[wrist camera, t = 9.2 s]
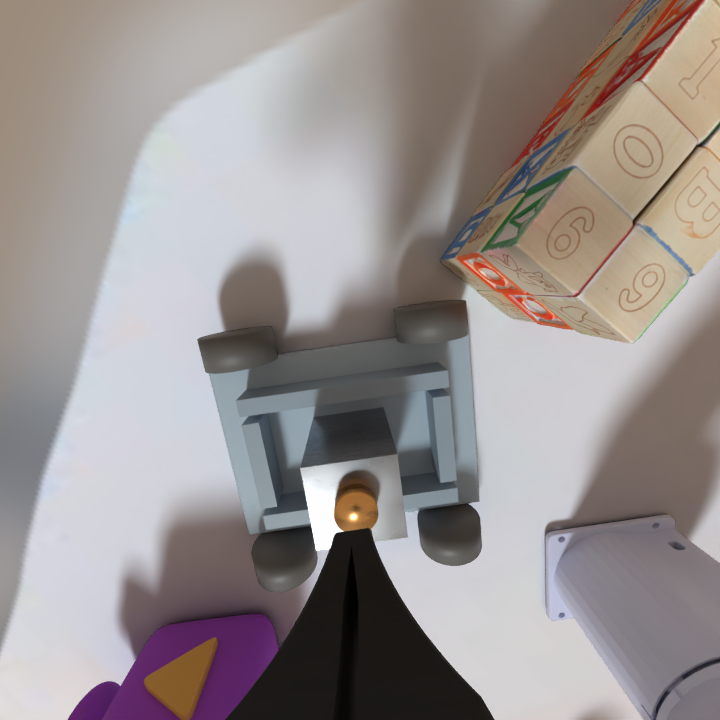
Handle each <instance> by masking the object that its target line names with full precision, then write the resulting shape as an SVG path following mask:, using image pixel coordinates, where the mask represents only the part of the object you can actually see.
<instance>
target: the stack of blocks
mask: <svg viewBox="0 0 720 720" xmlns="http://www.w3.org/2000/svg"><path fill="white" fill-rule="evenodd" d="M719 249H720V0H634V1H633V2H632V3H631V5H630V6H629V7H628V9H627V10H626V11H625V12H624V14H623V15H622V16H621V18H620V19H619V20H618V22H617V23H616V25H615V26H614V27H613V28H612V30H611V31H610V32H609V33H608V35H607V36H606V37H605V38H604V40H603V41H602V42H601V44H600V45H599V46H598V48H597V49H596V50H595V52H594V53H593V54H592V56H591V57H590V58H589V60H588V61H587V62H586V64H585V65H584V66H583V68H582V69H581V70H580V72H579V73H578V75H577V79H576V81H575V82H574V83H573V84H572V86H571V87H570V88H569V89H568V91H567V92H566V94H565V95H564V96H563V98H562V99H561V100H560V102H559V103H558V104H557V105H556V107H555V108H554V109H553V111H552V112H551V113H550V115H549V116H548V117H547V119H546V120H545V121H544V123H543V124H542V127H541V129H540V130H539V131H538V132H537V134H536V135H535V136H534V138H533V139H532V140H531V141H530V143H529V144H528V145H527V147H526V148H525V149H524V151H523V152H522V153H521V155H520V156H519V158H518V159H517V160H516V161H515V163H514V164H513V165H512V167H511V168H510V169H509V170H508V171H507V172H505V173H504V174H503V175H502V177H501V178H500V179H499V181H498V182H497V183H496V184H495V186H494V187H493V188H492V190H491V191H490V192H489V194H488V195H487V196H486V198H485V199H484V200H483V202H482V203H481V204H480V206H479V207H478V208H477V210H476V211H475V212H474V214H473V215H472V217H471V219H470V220H469V222H468V223H467V224H466V225H465V227H464V228H463V229H462V231H461V232H460V233H459V234H458V236H457V237H456V239H455V240H454V241H453V243H452V244H451V245H450V247H449V248H448V249H447V251H446V252H445V253H444V255H443V256H442V257H441V259H440V262H441V263H443V264H444V265H445V266H447V267H448V268H449V269H450V270H452V271H453V272H454V273H455V274H456V275H458V276H459V277H460V278H461V279H463V280H464V281H465V282H466V283H468V284H469V285H470V286H471V287H472V288H474V289H475V290H477V292H478V293H479V294H481V295H482V296H483V297H484V298H485V299H487V300H488V301H489V302H490V303H491V304H493V305H494V306H495V307H497V308H498V309H499V310H500V311H502V312H503V313H505V314H506V315H507V316H509V317H510V318H513V319H517V320H523V321H530V322H536V323H537V324H540V325H546V326H552V327H557V328H562V329H570V330H575V331H577V332H579V333H581V334H586V335H591V336H596V337H601V338H605V339H610V340H615V341H620V342H625V343H634V342H635V341H637V340H638V339H639V338H640V337H641V336H642V334H643V333H644V332H645V331H646V329H647V328H648V327H649V326H650V325H651V324H652V323H653V321H654V320H655V319H656V318H657V317H658V316H659V314H660V313H661V312H662V311H663V310H664V309H665V308H666V306H667V305H668V304H669V303H670V302H671V301H672V300H673V299H674V298H675V296H676V295H677V294H678V293H679V291H680V290H681V289H682V288H683V287H684V286H685V285H686V284H687V281H688V279H689V277H690V276H694V275H696V274H697V273H698V272H699V271H700V270H701V269H702V268H703V267H704V266H705V265H706V263H707V262H708V261H709V260H710V259H711V258H712V257H713V256H714V255H715V253H716V252H717V251H718V250H719Z"/></svg>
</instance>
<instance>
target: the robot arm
mask: <svg viewBox="0 0 720 720" xmlns="http://www.w3.org/2000/svg"><path fill="white" fill-rule="evenodd" d="M559 537H560V538H559ZM545 543H546V613H547V616H548V617H549V619H550V620H552V621H557V620H564V619H570V618H574V619H575V620H576V622H577V623H578V625H579V626H580V628H581V629H582V631H583V632H584V634H585V635H586V636H587V638H588V639H589V641H590V642H591V644H592V645H593V647H594V648H595V650H596V651H597V653H598V654H599V656H600V657H601V658H602V660H603V661H604V663H605V664H606V666H607V667H608V669H609V670H610V672H611V673H612V675H613V676H614V678H615V679H616V681H617V682H618V683H619V685H620V686H621V688H622V689H623V691H624V692H625V694H626V695H627V697H628V698H629V700H630V701H631V703H632V704H633V705H634V707H635V708H636V710H637V711H638V713H639V714H640V716H641V717H642V719H643V720H720V563H719V562H718V561H716V560H715V559H714V558H712V557H711V556H710V555H708V554H707V553H705V552H704V551H703V550H701V549H700V548H699V547H697V546H696V545H695V544H693V543H692V542H691V541H689V540H688V539H687V538H685V537H684V536H683V535H681V534H680V533H679V532H677V531H676V530H675V520H674V518H672V517H671V516H669V515H660V516H653V517H646V518H639V519H632V520H626V521H619V522H612V523H605V524H598V525H591V526H585V527H578V528H571V529H564V530H557V531H551V532H549V533H547V535H546V538H545ZM225 720H494V718H493V716H492V715H491V713H490V711H489V710H488V708H487V706H486V704H485V703H484V701H483V699H482V698H481V696H480V695H479V694H478V693H477V692H476V691H475V690H474V689H473V688H472V687H471V686H470V685H469V684H468V683H467V682H466V681H465V680H464V679H463V678H462V677H461V676H460V675H459V674H458V672H457V671H456V670H455V669H454V668H453V667H452V666H451V665H450V663H449V662H448V661H447V660H446V659H445V658H444V657H443V655H442V654H441V653H440V652H439V650H438V649H437V648H436V647H435V645H434V644H433V643H432V642H431V640H430V639H429V638H428V637H427V635H426V634H425V633H424V631H423V630H422V629H421V627H420V626H419V625H418V623H417V622H416V620H415V619H414V617H413V616H412V614H411V613H410V611H409V610H408V608H407V607H406V605H405V604H404V602H403V601H402V599H401V597H400V596H399V594H398V592H397V590H396V589H395V587H394V585H393V583H392V581H391V579H390V578H389V576H388V574H387V572H386V569H385V567H384V565H383V563H382V561H381V559H380V556H379V554H378V551H377V549H376V546H375V543H374V539H373V535H372V530H371V529H369V528H365V529H358V530H351V531H344V532H337V533H336V534H335V535H334V537H333V540H332V544H331V547H330V550H329V553H328V555H327V558H326V561H325V563H324V566H323V568H322V570H321V573H320V575H319V577H318V580H317V582H316V584H315V586H314V588H313V590H312V592H311V594H310V597H309V599H308V601H307V603H306V605H305V607H304V608H303V610H302V612H301V614H300V616H299V618H298V619H297V621H296V623H295V625H294V626H293V628H292V630H291V631H290V633H289V635H288V636H287V638H286V639H285V641H284V642H283V644H282V645H281V647H280V649H279V650H278V652H277V653H276V655H275V656H274V658H273V659H272V660H271V662H270V663H269V665H268V666H267V668H266V669H265V670H264V672H263V673H262V674H261V675H260V677H259V678H258V679H257V681H256V682H255V683H254V685H253V686H252V687H251V689H250V690H249V691H248V693H247V694H246V695H245V696H244V698H243V699H242V700H241V701H240V703H239V704H238V705H237V706H236V707H235V708H234V710H233V711H232V712H231V713H230V714H229V715H228V717H227V718H226V719H225Z"/></svg>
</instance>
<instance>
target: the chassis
mask: <svg viewBox="0 0 720 720" xmlns="http://www.w3.org/2000/svg"><path fill="white" fill-rule="evenodd" d="M394 317H395V326H396V335H397V337H394V338H387V339H380V340H373V341H366V342H359V343H352V344H345V345H338V346H331V347H324V348H317V349H310V350H303V351H296V352H289V353H282V354H277V350H276V345H275V340H274V334H273V329H272V326H260V327H251V328H244V329H238V330H232V331H226V332H221V333H216V334H212V335H208V336H204V337H201V338H199V339H197V340H198V344H199V348H200V352H201V356H202V360H203V364H204V368H205V372H206V373H209V376H210V380H211V384H212V388H213V392H214V396H215V400H216V404H217V408H218V412H219V416H220V420H221V424H222V428H223V432H224V436H225V440H226V444H227V448H228V452H229V456H230V460H231V464H232V468H233V472H234V476H235V480H236V484H237V488H238V492H239V496H240V500H241V504H242V508H243V512H244V516H245V520H246V524H247V528H248V532H249V535H252V534H259V533H262V534H261V535H260V536H259V537H258V538H257V539H256V541H255V542H254V544H253V547H252V552H251V553H252V559H253V563H254V566H255V570H256V574H257V578H258V582H259V584H260V585H261V586H262V587H263V588H264V589H266V590H269V591H273V592H282V591H287V590H290V589H293V588H295V587H297V586H299V585H300V584H302V583H303V582H304V581H305V580H307V579H308V578H309V576H310V575H311V574H312V573H313V571H314V569H315V567H316V564H317V559H318V557H317V551H316V546H315V541H314V536H313V531H312V529H311V527H310V526H312V525H311V520H310V515H309V510H308V505H307V500H306V495H305V490H304V485H303V480H302V475H301V470H300V467H301V463H302V459H303V455H304V452H305V448H306V444H307V440H308V436H309V432H310V428H311V424H312V420H313V417H318V416H325V415H332V414H338V413H345V412H352V411H359V410H366V409H373V408H380V407H384V410H385V413H386V417H387V420H388V424H389V427H390V430H391V434H392V437H393V440H394V444H395V447H396V450H397V454H398V462H399V470H400V478H401V486H402V494H403V502H404V511H405V512H410V511H417V510H419V513H418V528H419V537H420V544H421V547H422V549H423V551H424V552H425V554H426V555H427V556H428V557H430V558H431V559H432V560H434V561H436V562H438V563H441V564H444V565H450V566H459V565H464V564H467V563H470V562H472V561H473V560H475V559H476V558H477V557H478V555H479V554H480V552H481V548H482V541H481V525H480V517H479V515H478V513H477V511H476V510H475V509H474V508H473V507H472V506H470V505H469V504H467V503H472V502H479V486H478V470H477V455H476V439H475V423H474V408H473V392H472V376H471V361H470V345H469V330H468V323H467V308H466V301H465V300H447V301H436V302H427V303H420V304H414V305H408V306H403V307H399V308H396V309H394Z"/></svg>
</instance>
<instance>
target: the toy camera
mask: <svg viewBox="0 0 720 720" xmlns="http://www.w3.org/2000/svg"><path fill="white" fill-rule="evenodd" d="M278 650H279V649H278V644H277V639H276V635H275V631H274V628H273V625H272V623H271V621H270V619H269V618H268V617H267V616H265V615H261V614H247V615H238V616H230V617H222V618H213V619H205V620H197V621H189V622H182V623H176V624H171V625H167V626H164V627H162V628H160V629H158V630H157V631H156V632H155V633H154V634H153V635H152V636H151V637H150V639H149V640H148V641H147V643H146V644H145V646H144V648H143V649H142V651H141V652H140V654H139V656H138V657H137V659H136V661H135V662H134V664H133V666H132V668H131V669H130V671H129V673H128V675H127V676H126V678H125V680H124V681H123V683H122V685H121V686H120V685H118V684H117V683H115V682H110V681H107V682H103V683H101V684H99V685H97V686H96V687H94V688H93V689H92V690H91V691H90V692H88V693H87V694H86V696H85V697H84V698H83V699H82V700H81V701H80V702H79V704H78V705H77V706H76V707H75V709H74V710H73V712H72V713H71V715H70V717H69V718H68V720H225V719H226V718H227V717H228V715H229V714H230V713H231V712H232V711H233V710H234V708H235V707H236V706H237V705H238V704H239V703H240V701H241V700H242V699H243V698H244V696H245V695H246V694H247V693H248V691H249V690H250V689H251V687H252V686H253V685H254V683H255V682H256V681H257V679H258V678H259V677H260V675H261V674H262V673H263V672H264V670H265V669H266V668H267V666H268V665H269V663H270V662H271V660H272V659H273V658H274V656H275V655H276V653H277V652H278Z"/></svg>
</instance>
